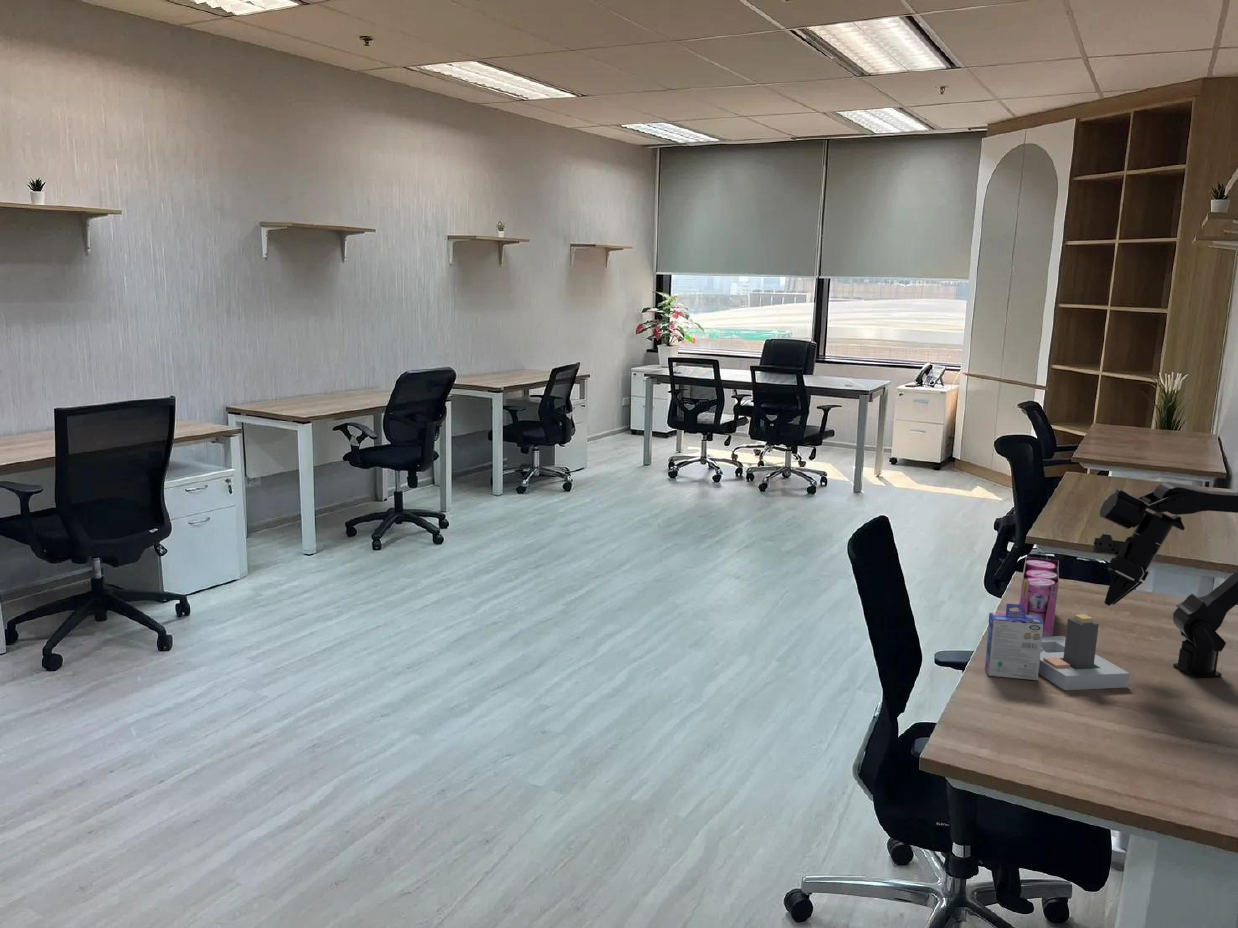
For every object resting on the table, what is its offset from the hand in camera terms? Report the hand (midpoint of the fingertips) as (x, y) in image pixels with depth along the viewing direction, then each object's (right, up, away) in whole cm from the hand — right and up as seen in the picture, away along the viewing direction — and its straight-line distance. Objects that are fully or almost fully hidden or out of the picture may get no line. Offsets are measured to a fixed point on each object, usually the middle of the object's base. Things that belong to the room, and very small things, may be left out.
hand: (1109, 604), depth 195 cm
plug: (-9, -14, -5) cm, 18 cm away
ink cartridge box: (-22, -14, -4) cm, 27 cm away
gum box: (-3, -9, +28) cm, 29 cm away
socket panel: (-10, -14, 0) cm, 17 cm away
